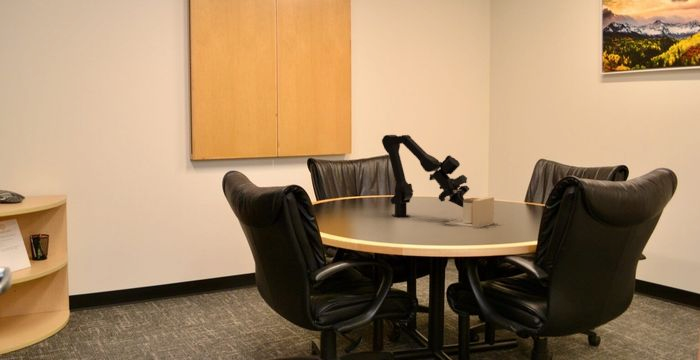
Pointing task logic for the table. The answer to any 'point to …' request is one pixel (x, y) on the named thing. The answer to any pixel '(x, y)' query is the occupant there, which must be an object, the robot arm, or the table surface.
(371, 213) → the table surface
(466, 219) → the brown topped beige block
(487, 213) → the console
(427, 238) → the table surface
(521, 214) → the table surface
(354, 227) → the table surface
